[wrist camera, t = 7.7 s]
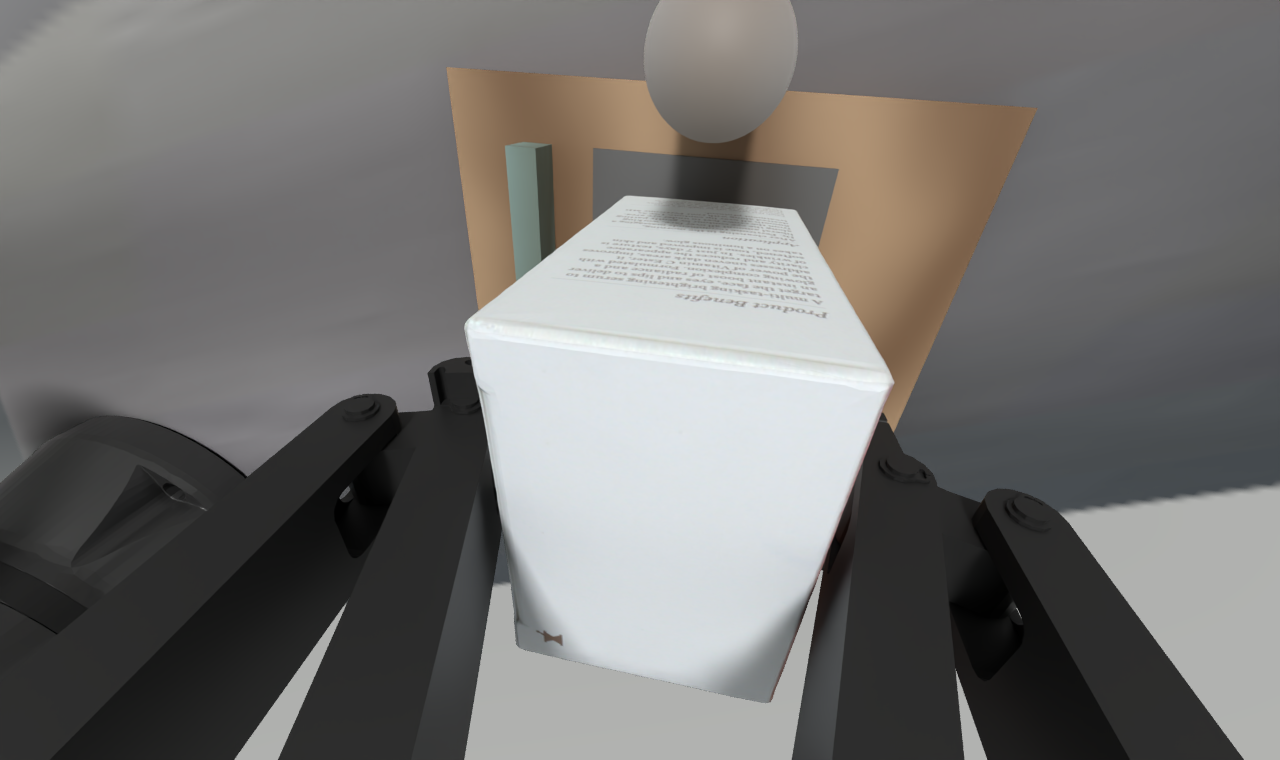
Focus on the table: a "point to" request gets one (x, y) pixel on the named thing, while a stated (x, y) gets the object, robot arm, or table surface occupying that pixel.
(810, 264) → the small box
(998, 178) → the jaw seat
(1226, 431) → the table surface
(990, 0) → the table surface
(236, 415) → the table surface
